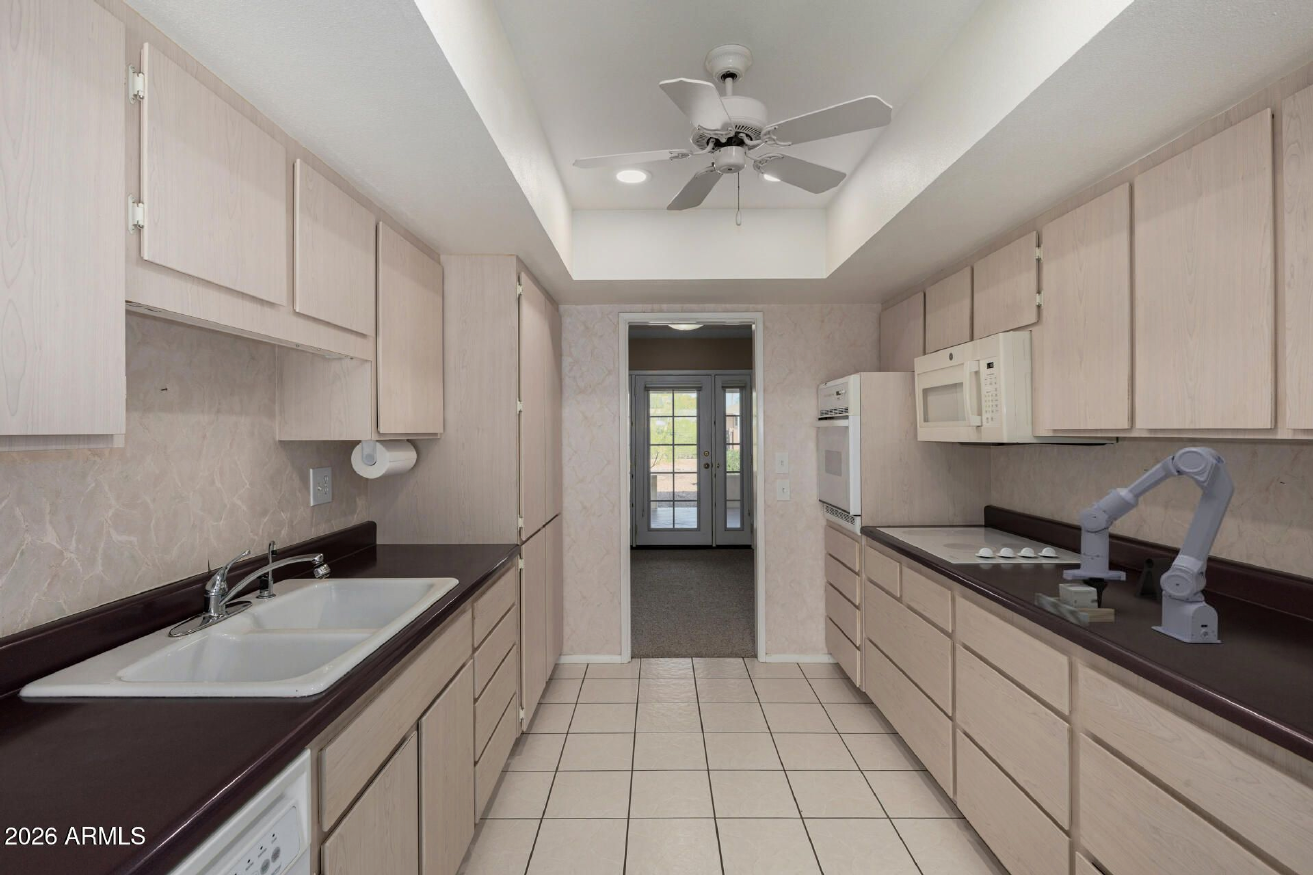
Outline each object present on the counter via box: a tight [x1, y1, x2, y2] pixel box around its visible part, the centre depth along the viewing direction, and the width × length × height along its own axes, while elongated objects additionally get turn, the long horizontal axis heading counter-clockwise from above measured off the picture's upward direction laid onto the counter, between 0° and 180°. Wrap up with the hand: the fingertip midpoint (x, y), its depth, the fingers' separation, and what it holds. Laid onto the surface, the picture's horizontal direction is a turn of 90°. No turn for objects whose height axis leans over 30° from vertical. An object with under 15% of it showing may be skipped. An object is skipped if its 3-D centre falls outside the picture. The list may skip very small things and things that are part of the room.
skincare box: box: [1058, 583, 1098, 608], centre depth 150 cm, size 6×6×7 cm
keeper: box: [1034, 592, 1115, 628], centre depth 150 cm, size 18×11×3 cm, turn 179°
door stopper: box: [1132, 556, 1174, 605], centre depth 163 cm, size 9×6×12 cm, turn 9°
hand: (1093, 606), depth 150 cm, fingers closed, pressing on skincare box
